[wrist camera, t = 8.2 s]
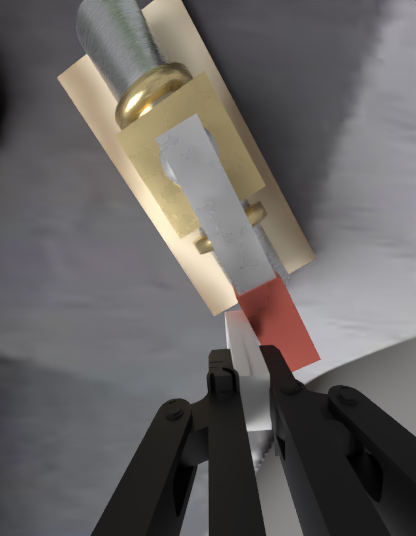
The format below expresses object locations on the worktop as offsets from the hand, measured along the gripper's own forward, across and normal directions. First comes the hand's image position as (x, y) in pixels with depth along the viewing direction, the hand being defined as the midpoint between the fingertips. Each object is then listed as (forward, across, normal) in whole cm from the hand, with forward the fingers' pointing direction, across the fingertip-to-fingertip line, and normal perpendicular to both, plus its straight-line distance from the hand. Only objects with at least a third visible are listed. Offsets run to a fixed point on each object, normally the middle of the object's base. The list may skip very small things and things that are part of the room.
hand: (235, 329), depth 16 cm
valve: (+10, -2, +11) cm, 15 cm away
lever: (+2, 0, +5) cm, 6 cm away
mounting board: (+10, -2, +11) cm, 15 cm away
